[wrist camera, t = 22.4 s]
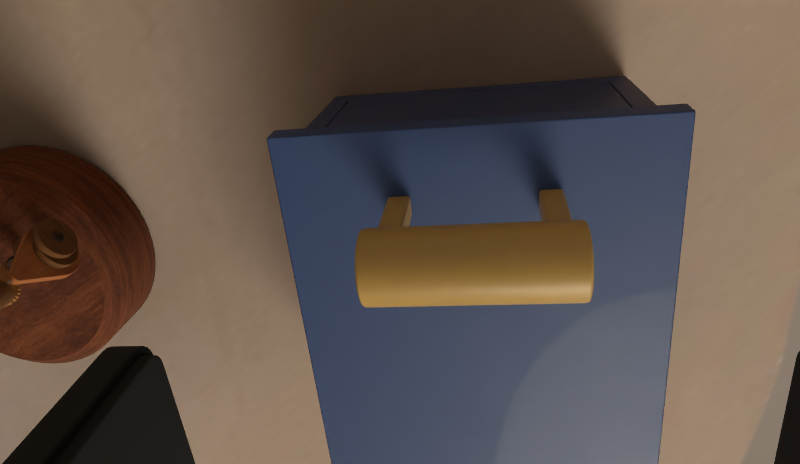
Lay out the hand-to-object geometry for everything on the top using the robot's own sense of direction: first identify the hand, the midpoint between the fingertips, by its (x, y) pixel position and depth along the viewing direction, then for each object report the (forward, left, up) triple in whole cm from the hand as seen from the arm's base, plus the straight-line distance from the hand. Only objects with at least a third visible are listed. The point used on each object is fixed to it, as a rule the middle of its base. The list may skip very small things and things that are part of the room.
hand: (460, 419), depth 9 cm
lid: (+6, +1, -11) cm, 13 cm away
